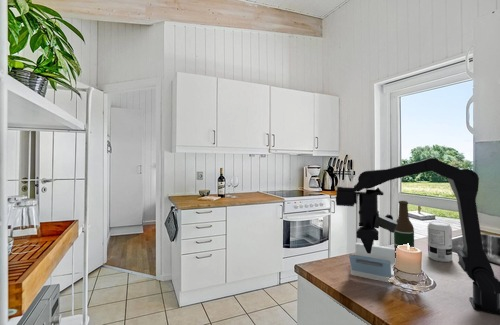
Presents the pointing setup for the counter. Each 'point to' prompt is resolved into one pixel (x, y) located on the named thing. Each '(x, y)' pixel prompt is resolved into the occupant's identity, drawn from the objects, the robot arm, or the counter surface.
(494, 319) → the counter surface
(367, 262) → the panel
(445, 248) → the supplement can
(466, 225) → the robot arm
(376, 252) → the white stepped block
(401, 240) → the beer bottle
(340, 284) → the counter surface
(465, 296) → the counter surface
